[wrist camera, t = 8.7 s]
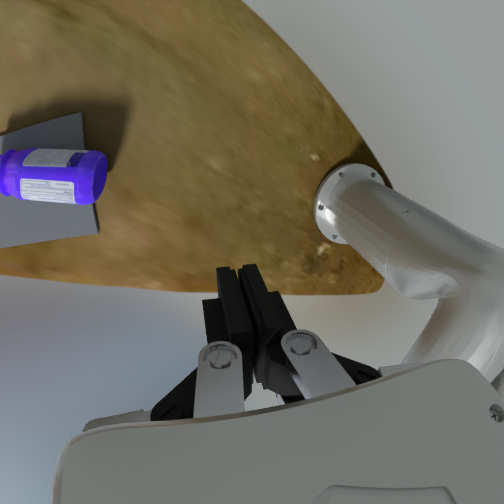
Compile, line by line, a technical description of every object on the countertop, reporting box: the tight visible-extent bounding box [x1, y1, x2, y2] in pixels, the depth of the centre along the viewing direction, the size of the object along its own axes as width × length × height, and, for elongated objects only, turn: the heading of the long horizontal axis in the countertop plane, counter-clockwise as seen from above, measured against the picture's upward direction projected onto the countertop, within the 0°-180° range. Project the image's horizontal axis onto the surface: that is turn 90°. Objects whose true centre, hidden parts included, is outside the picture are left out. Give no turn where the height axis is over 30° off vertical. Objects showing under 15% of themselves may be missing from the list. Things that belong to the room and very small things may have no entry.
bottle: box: [0, 148, 107, 205], centre depth 26 cm, size 7×6×17 cm
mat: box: [0, 112, 99, 248], centre depth 29 cm, size 20×16×1 cm
